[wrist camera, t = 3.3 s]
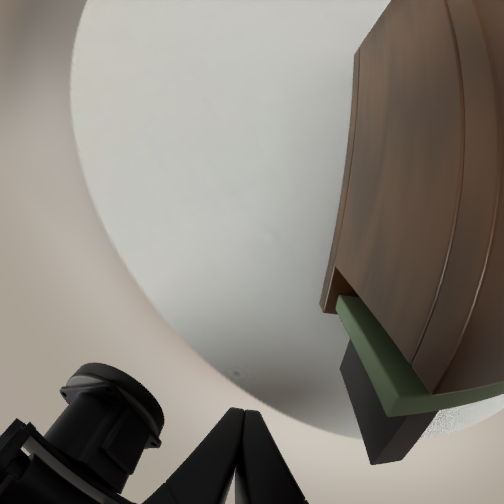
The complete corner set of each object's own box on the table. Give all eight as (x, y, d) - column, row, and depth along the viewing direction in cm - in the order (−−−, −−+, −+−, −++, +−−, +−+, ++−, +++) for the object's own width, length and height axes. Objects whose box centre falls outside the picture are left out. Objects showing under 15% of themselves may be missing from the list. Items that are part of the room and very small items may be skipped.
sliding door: (454, 359, 12) (510, 427, 5) (320, 358, 12) (347, 473, 6) (475, 307, 11) (549, 365, 5) (338, 293, 11) (398, 397, 5)
